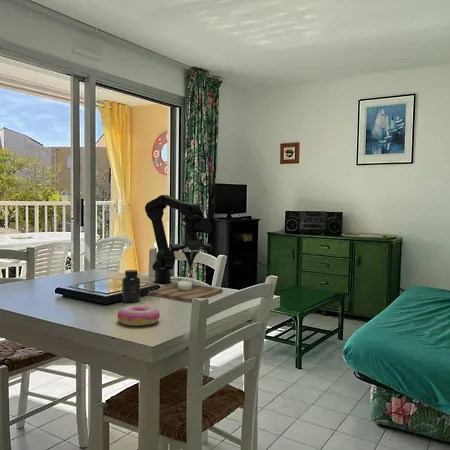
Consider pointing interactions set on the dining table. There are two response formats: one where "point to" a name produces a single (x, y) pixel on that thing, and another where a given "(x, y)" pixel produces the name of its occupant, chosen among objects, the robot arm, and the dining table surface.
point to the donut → (138, 315)
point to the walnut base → (184, 292)
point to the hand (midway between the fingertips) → (190, 266)
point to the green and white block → (184, 285)
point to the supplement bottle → (131, 286)
